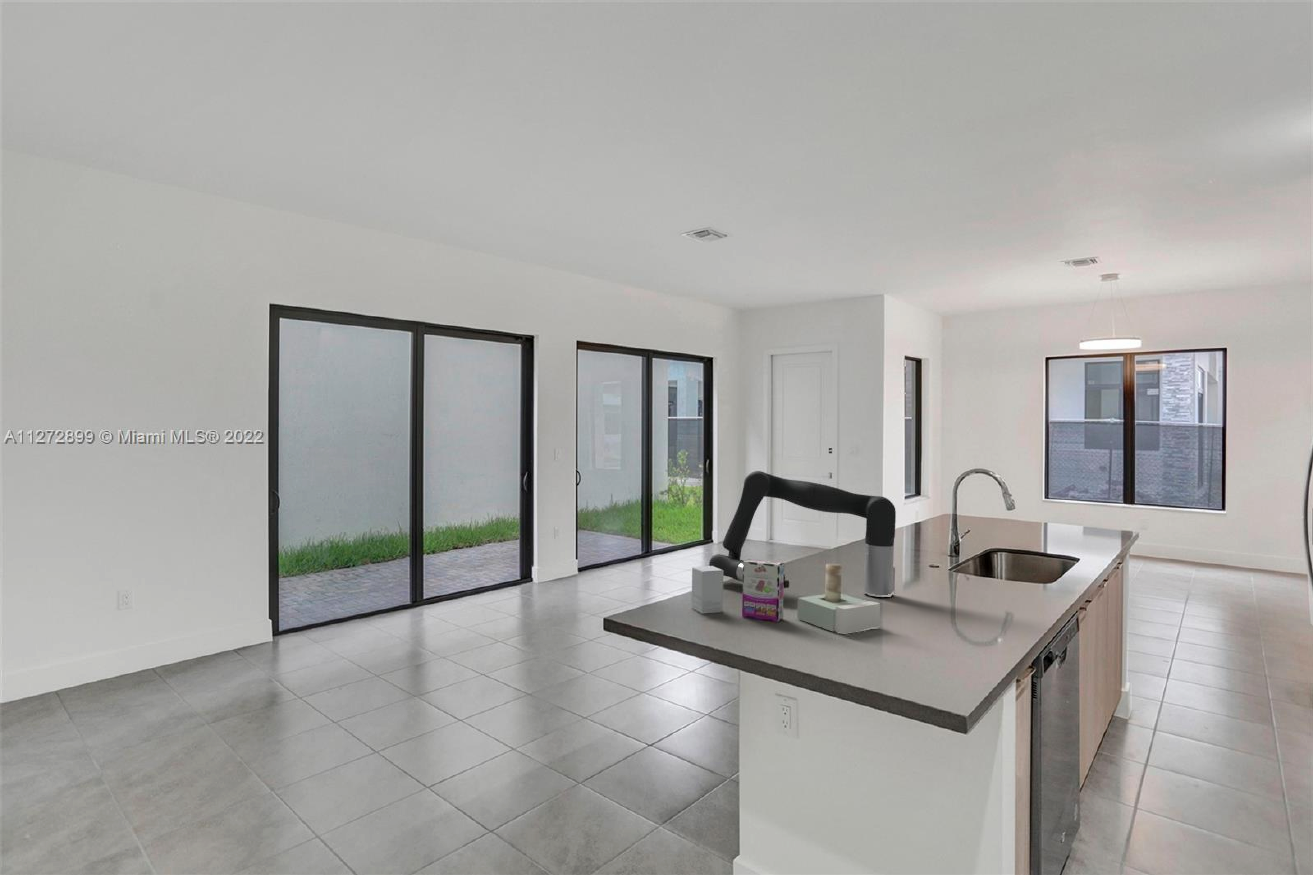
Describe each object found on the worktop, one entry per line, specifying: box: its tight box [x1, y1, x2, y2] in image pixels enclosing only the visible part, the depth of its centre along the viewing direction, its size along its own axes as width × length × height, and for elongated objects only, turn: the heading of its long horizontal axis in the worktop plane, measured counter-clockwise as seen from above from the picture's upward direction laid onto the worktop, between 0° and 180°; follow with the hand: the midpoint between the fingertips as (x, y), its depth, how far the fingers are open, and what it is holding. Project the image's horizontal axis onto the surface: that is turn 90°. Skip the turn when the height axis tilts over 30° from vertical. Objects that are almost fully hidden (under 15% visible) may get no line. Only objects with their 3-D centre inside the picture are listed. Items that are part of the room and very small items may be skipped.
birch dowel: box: [824, 563, 842, 603], centre depth 194 cm, size 4×4×14 cm
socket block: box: [796, 593, 869, 633], centre depth 193 cm, size 16×14×6 cm
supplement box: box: [690, 565, 724, 614], centre depth 203 cm, size 7×7×13 cm
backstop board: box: [834, 600, 881, 634], centre depth 186 cm, size 14×3×7 cm, turn 120°
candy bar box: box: [741, 559, 785, 623], centre depth 196 cm, size 11×5×16 cm, turn 62°
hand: (787, 584), depth 211 cm, fingers closed
